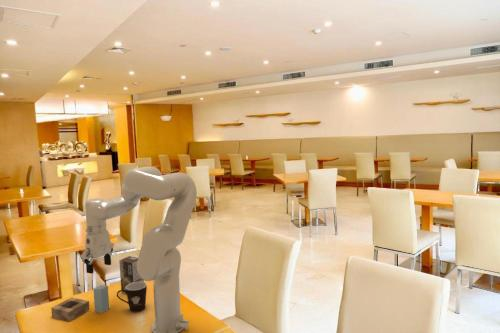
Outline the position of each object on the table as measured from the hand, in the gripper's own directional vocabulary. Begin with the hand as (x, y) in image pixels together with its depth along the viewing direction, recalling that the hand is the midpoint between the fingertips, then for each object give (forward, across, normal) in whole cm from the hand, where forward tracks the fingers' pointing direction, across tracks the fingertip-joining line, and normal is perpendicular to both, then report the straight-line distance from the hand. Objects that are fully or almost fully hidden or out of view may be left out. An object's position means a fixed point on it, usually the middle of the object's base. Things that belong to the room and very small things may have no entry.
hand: (99, 268), depth 153 cm
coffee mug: (+18, +6, -12) cm, 23 cm away
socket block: (+18, -7, +10) cm, 22 cm away
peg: (+18, 0, 0) cm, 18 cm away
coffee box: (+18, +18, -1) cm, 26 cm away
